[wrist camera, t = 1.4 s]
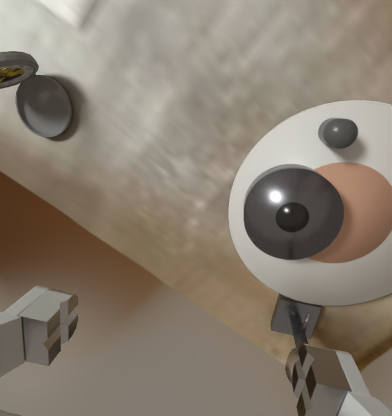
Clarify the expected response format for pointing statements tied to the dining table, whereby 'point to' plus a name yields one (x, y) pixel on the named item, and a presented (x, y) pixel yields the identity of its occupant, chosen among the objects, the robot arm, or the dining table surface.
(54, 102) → the pocket watch
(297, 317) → the dial gauge stand
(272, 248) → the cover
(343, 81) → the dining table surface
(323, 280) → the turntable
